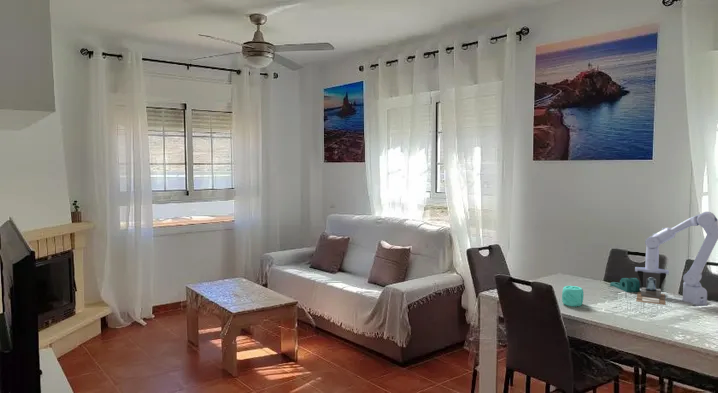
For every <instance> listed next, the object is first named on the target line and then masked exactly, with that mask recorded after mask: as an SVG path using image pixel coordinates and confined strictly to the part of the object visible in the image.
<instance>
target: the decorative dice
mask: <svg viewBox="0 0 718 393" xmlns="http://www.w3.org/2000/svg"><path fill="white" fill-rule="evenodd" d="M561 301H562V303H563V304H564V305H566V306H568V307H573V308H575V307H576V308H577V306H578V307H581V306H582V305H583V303H584V289H583V288H582V287H580V286H577V285H566V286H563V288H562V293H561Z"/></svg>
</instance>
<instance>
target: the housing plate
mask: <svg viewBox="0 0 718 393" xmlns="http://www.w3.org/2000/svg"><path fill="white" fill-rule="evenodd" d="M646 289H647V287H644V286H643V287H642V286H641V288H640V292H636V300H635V301H636V302H637V303H644V304H647V303H648V304H654V305H664V306H666V295H665V293H662V290H661V289H662V288H656V292H655V291H646Z"/></svg>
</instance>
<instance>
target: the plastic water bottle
mask: <svg viewBox="0 0 718 393" xmlns="http://www.w3.org/2000/svg"><path fill="white" fill-rule="evenodd" d="M646 288H647V289H646V291H655V292H656V289H657V279H656V278H655V277H652V276H651V277H648V278H646Z"/></svg>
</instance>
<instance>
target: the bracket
mask: <svg viewBox="0 0 718 393" xmlns="http://www.w3.org/2000/svg"><path fill="white" fill-rule="evenodd" d="M609 287H614V288H616V289H619V290H621V291H623V292H625V293H637V292H641V281H640V279H638V278H637V277H630V278H628V277H621V278H620V280H619V282H616V281H611V282H610V283H609Z"/></svg>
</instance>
